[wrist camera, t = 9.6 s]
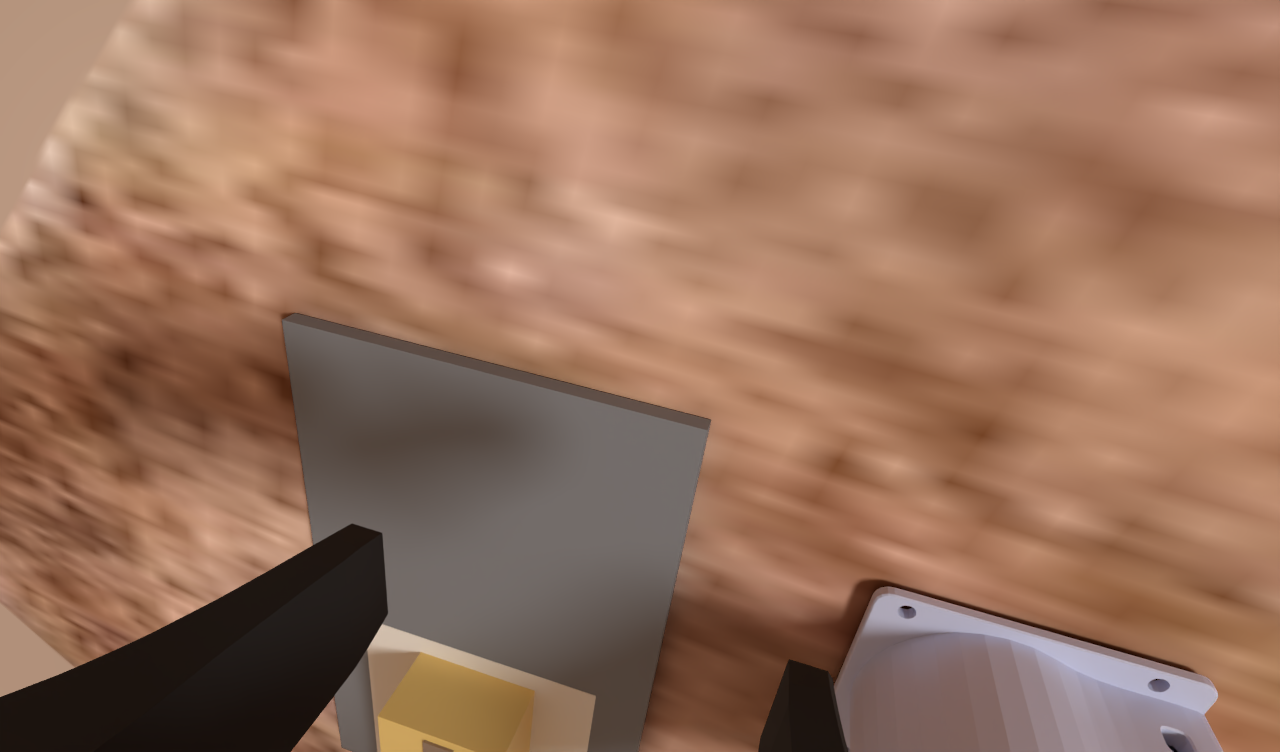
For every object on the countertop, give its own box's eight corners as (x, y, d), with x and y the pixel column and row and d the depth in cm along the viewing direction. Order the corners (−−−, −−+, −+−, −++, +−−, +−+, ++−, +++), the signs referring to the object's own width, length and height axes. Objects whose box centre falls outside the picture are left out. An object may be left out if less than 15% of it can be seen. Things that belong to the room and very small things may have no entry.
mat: (710, 419, 20) (707, 430, 19) (619, 836, 31) (615, 850, 31) (295, 312, 22) (281, 320, 22) (349, 736, 33) (341, 747, 33)
